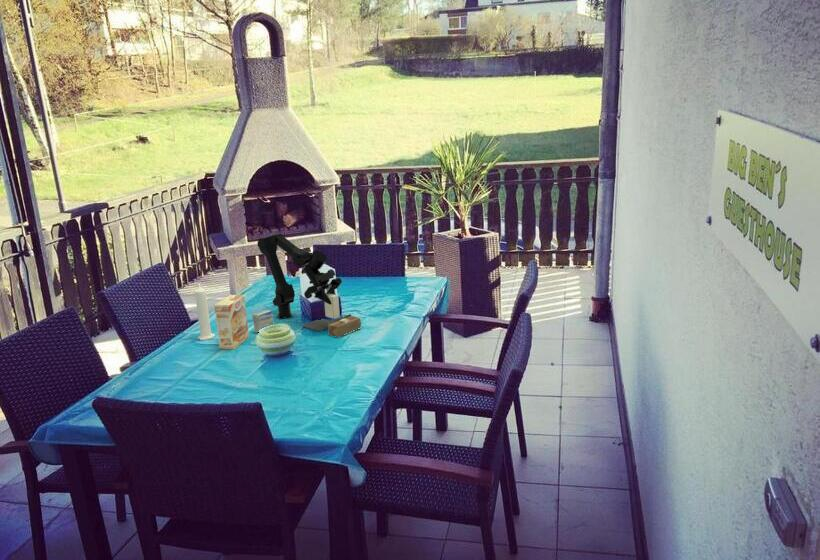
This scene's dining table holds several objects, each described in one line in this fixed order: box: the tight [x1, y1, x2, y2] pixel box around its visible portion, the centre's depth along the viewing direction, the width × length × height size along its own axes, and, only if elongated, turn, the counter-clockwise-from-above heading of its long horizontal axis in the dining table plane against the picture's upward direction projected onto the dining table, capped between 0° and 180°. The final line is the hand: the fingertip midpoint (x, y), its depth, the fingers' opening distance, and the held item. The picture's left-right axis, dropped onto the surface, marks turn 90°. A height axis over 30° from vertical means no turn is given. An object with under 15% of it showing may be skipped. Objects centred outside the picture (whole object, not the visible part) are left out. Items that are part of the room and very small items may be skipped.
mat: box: [301, 318, 332, 332], centre depth 304 cm, size 12×12×1 cm
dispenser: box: [327, 313, 362, 338], centre depth 294 cm, size 6×14×6 cm, turn 140°
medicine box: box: [252, 309, 275, 334], centre depth 300 cm, size 8×4×9 cm, turn 143°
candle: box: [194, 282, 215, 341], centre depth 293 cm, size 7×7×25 cm
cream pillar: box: [323, 293, 341, 320], centre depth 296 cm, size 6×3×10 cm, turn 50°
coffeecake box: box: [214, 294, 250, 350], centre depth 285 cm, size 15×7×20 cm, turn 168°
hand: (333, 303), depth 295 cm, fingers closed on cream pillar, 3 cm apart
